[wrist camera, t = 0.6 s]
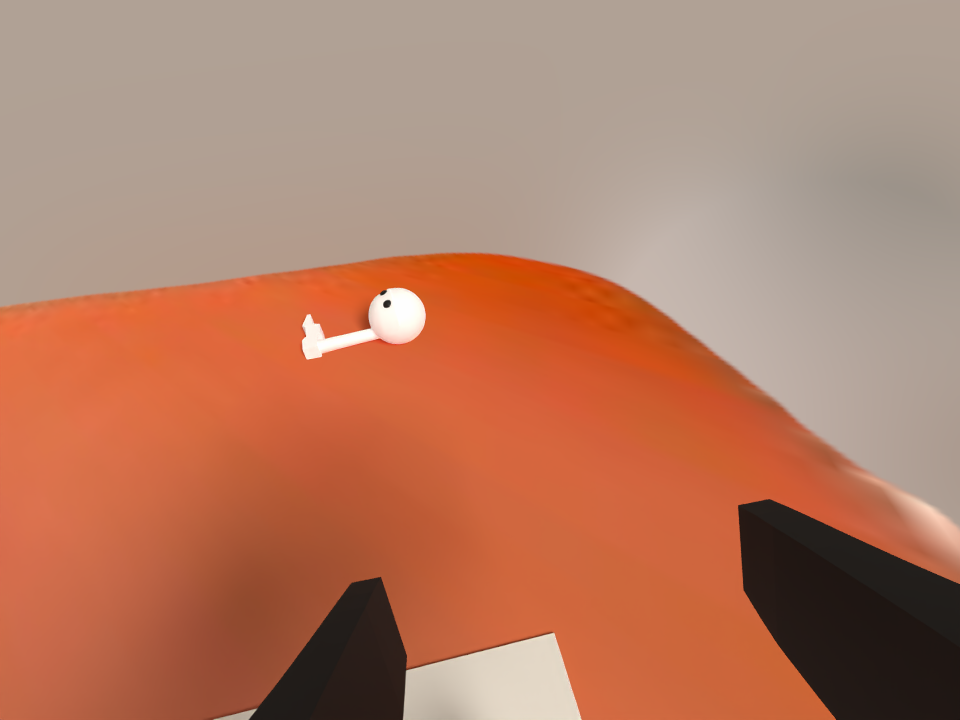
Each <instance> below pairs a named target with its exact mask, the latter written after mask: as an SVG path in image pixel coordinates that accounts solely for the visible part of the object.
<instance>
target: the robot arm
mask: <svg viewBox="0 0 960 720" xmlns="http://www.w3.org/2000/svg"><path fill="white" fill-rule="evenodd" d="M738 511H739V526H740V542H741V557H742V572H743V588H744V591H745V593H746V595H747V596H748V598H749V600H750V601H751V603H752V605H753V606H754V608H755V609H756V611H757V613H758V614H759V616H760V618H761V619H762V621H763V622H764V624H765V625H766V627H767V629H768V630H769V632H770V633H771V635H772V636H773V638H774V639H775V641H776V642H777V644H778V645H779V647H780V648H781V649H782V651H783V652H784V653H785V655H786V656H787V657H788V658H789V660H790V661H791V662H792V664H793V665H794V666H795V667H796V669H797V670H798V671H799V673H800V674H801V675H802V676H803V678H804V679H805V680H806V682H807V683H808V684H809V685H810V687H811V688H812V689H813V691H814V692H815V693H816V694H817V696H818V697H819V698H820V699H821V701H822V702H823V703H824V705H825V706H826V707H827V708H828V710H829V711H830V712H831V713H832V715H833V716H834V717H835V719H836V720H960V584H958V583H956V582H953V581H951V580H949V579H946V578H944V577H942V576H939V575H937V574H935V573H932V572H930V571H928V570H925V569H923V568H921V567H918V566H916V565H914V564H912V563H909V562H907V561H905V560H903V559H900V558H898V557H896V556H894V555H891V554H889V553H887V552H885V551H883V550H880V549H878V548H876V547H874V546H872V545H869V544H867V543H865V542H863V541H861V540H859V539H856V538H854V537H852V536H850V535H848V534H846V533H843V532H841V531H839V530H837V529H835V528H833V527H830V526H828V525H826V524H824V523H822V522H820V521H818V520H815V519H813V518H811V517H809V516H807V515H805V514H802V513H800V512H798V511H796V510H794V509H791V508H789V507H787V506H784V505H782V504H780V503H777V502H775V501H773V500H770V499H768V500H763V501H758V502H753V503H748V504H743V505H738ZM406 662H407V655H406V652H405V649H404V646H403V643H402V640H401V637H400V634H399V631H398V627H397V624H396V621H395V618H394V615H393V612H392V609H391V606H390V603H389V600H388V597H387V594H386V591H385V588H384V585H383V582H382V579H381V577H379V578H374V579H369V580H364V581H359V582H354V583H351V584H350V586H349V587H348V588H347V590H346V591H345V592H344V594H343V595H342V596H341V598H340V599H339V600H338V602H337V603H336V605H335V606H334V607H333V609H332V610H331V612H330V613H329V614H328V616H327V617H326V618H325V620H324V621H323V623H322V624H321V625H320V627H319V628H318V629H317V631H316V632H315V634H314V635H313V636H312V638H311V639H310V640H309V642H308V643H307V645H306V646H305V647H304V649H303V650H302V651H301V653H300V654H299V655H298V657H297V658H296V659H295V661H294V662H293V663H292V665H291V666H290V667H289V669H288V670H287V671H286V673H285V674H284V675H283V677H282V678H281V679H280V681H279V682H278V683H277V685H276V686H275V687H274V688H273V690H272V691H271V692H270V693H269V695H268V696H267V697H266V698H265V700H264V701H263V702H262V703H261V705H260V706H259V707H258V708H257V710H256V711H255V712H254V713H253V715H252V716H251V717H250V718H249V720H403V715H404V700H405V684H406Z"/></svg>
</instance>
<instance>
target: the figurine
mask: <svg viewBox="0 0 960 720" xmlns="http://www.w3.org/2000/svg"><path fill="white" fill-rule="evenodd" d="M425 317H426V314H425V309H424V306H423V304H422V302H421V300H420V299H419V298H418V297H417V296H416V295H415V294H414V293H413V292H411V291H409V290H406V289H403V288H392V289H387V290H384V291H382V292H381V293H380V294H379V295H378V296H376V297H375V298H374V300H373V301H372V303H371V305H370V308H369V323H370V326H371V328H370V329H366V330H362V331H358V332H353V333H349V334H345V335H340V336H336V337H332V338H327V339H325V338H324V334H323V331H322V329H321V327H320V324H314V322H313V320H312V317H311V315H310V314H309V315H307V317H306V319H305V321H304V323H303V329H304V331H305V333H306V337H305V338H304V339H303V340H302V345H303V352H304V354H305V356H306V359H312V358H317V357H322V353H325V352H329V351H333V350H337V349H340V348H344V347H348V346H352V345H356V344H359V343H363V342H367V341H371V340H375V339H379V338H381V339H382V340H384V341H386V342H388V343H392V344H403V343H407V342H409V341H411V340H413V339H414V338H416V337H417V336H418V335H419V333H420V332H421V331H422V329H423V327H424V324H425Z"/></svg>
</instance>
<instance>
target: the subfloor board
mask: <svg viewBox="0 0 960 720" xmlns="http://www.w3.org/2000/svg"><path fill="white" fill-rule="evenodd" d="M256 710H257V709H253V710H249V711H245V712H242V713H238V714H234V715H230V716H226V717H222V718H218V719H214V720H249V718H250V717H251V716H252V715H253V713H254V712H255V711H256ZM403 720H581V717H580V713H579V710H578V707H577V704H576V701H575V698H574V694H573V691H572V688H571V685H570V682H569V679H568V675H567V672H566V669H565V666H564V663H563V660H562V656H561V653H560V650H559V647H558V644H557V641H556V637H555V634H554V633H551V634H547V635H543V636H539V637H536V638H532V639H528V640H524V641H520V642H516V643H512V644H508V645H504V646H500V647H496V648H492V649H489V650H485V651H481V652H477V653H473V654H469V655H465V656H461V657H457V658H453V659H449V660H445V661H441V662H438V663H434V664H430V665H426V666H422V667H418V668H414V669H410V670H406V684H405V700H404V715H403Z"/></svg>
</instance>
